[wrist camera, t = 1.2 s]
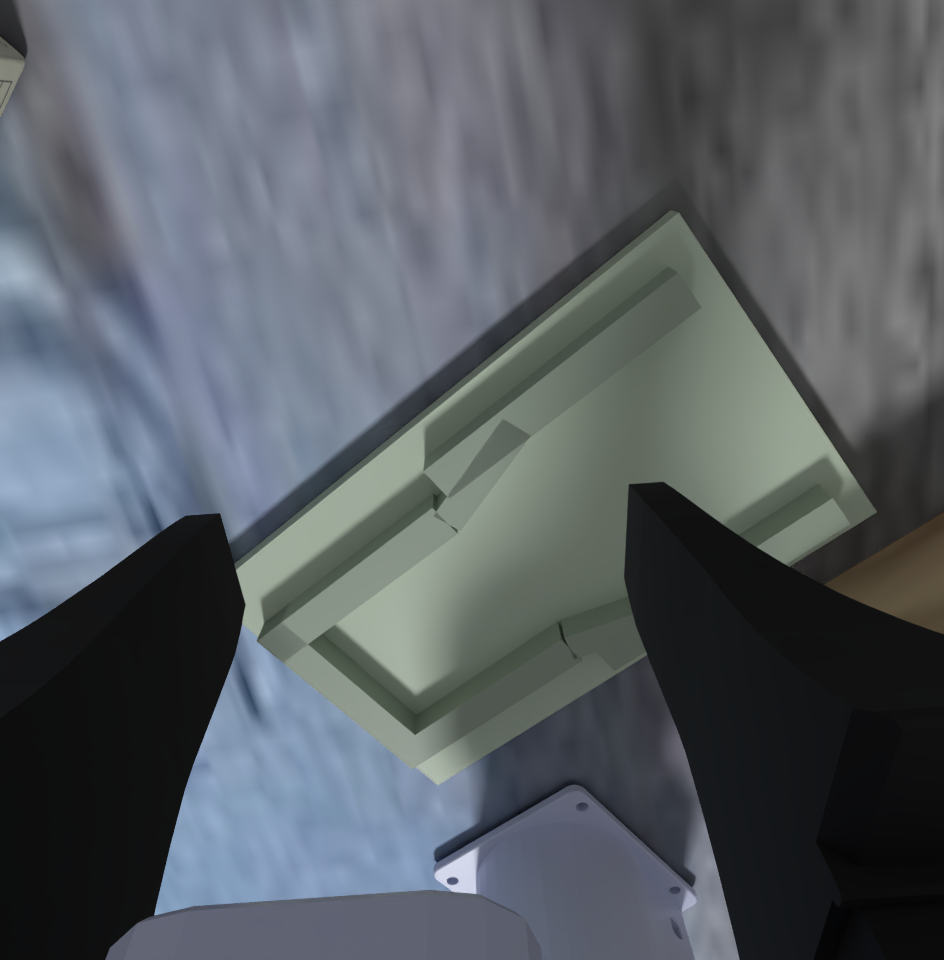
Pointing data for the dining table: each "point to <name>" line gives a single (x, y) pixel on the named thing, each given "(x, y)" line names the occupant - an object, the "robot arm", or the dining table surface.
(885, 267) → the dining table surface
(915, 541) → the panel block
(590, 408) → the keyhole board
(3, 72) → the skincare box
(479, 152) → the dining table surface
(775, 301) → the dining table surface
